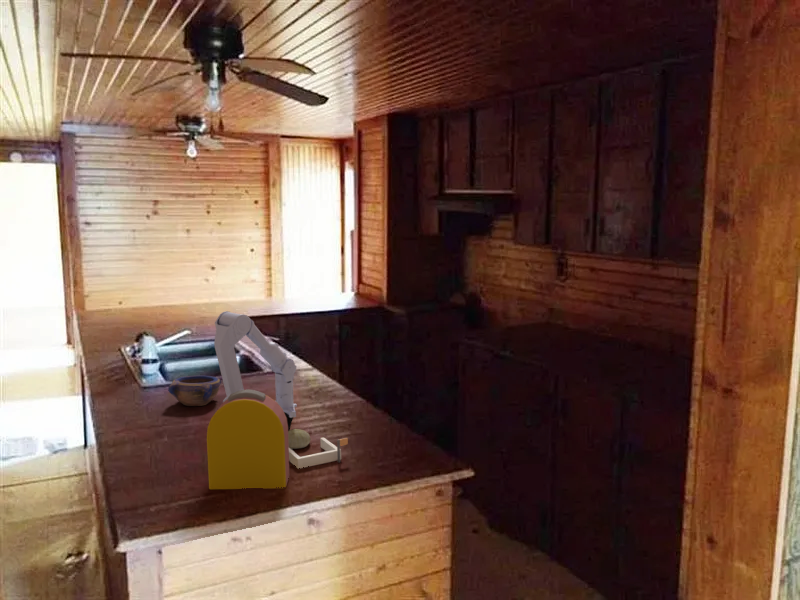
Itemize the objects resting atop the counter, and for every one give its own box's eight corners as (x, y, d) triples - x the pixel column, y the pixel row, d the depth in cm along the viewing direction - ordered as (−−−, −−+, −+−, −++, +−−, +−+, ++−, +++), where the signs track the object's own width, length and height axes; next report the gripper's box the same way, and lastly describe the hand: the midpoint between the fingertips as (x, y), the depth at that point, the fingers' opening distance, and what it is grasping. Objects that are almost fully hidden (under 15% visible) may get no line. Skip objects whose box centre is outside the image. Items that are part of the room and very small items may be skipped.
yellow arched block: (289, 474, 194) (287, 385, 190) (285, 488, 185) (282, 395, 181) (216, 475, 193) (212, 386, 189) (208, 489, 184) (203, 396, 180)
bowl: (227, 396, 270) (226, 372, 268) (210, 410, 252) (209, 385, 251) (184, 395, 272) (183, 371, 270) (164, 409, 254) (163, 383, 252)
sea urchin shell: (283, 447, 210) (281, 423, 215) (282, 457, 217) (280, 434, 221) (312, 444, 213) (309, 421, 217) (310, 454, 219) (308, 432, 224)
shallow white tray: (300, 471, 196) (300, 448, 195) (282, 454, 209) (281, 433, 208) (348, 460, 204) (348, 438, 203) (328, 445, 216) (327, 424, 215)
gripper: (304, 396, 219) (305, 436, 221) (287, 386, 231) (288, 424, 233) (283, 400, 215) (285, 440, 217) (268, 389, 228) (269, 427, 230)
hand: (285, 432), depth 225 cm, fingers closed
